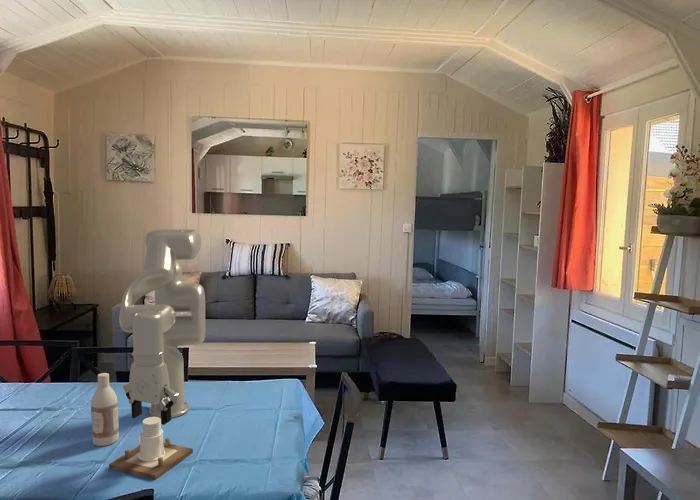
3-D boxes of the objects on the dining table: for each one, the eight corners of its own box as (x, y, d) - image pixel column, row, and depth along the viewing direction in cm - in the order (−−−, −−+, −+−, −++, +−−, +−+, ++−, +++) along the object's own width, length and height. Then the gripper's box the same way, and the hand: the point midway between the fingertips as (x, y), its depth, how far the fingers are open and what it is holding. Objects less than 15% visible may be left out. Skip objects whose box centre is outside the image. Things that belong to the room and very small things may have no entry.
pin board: (109, 468, 139) (108, 456, 139) (149, 443, 153) (148, 432, 153) (155, 479, 134) (155, 467, 133) (192, 452, 148) (192, 441, 147)
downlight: (130, 457, 142) (130, 422, 141) (149, 446, 148) (149, 412, 147) (153, 465, 139) (154, 429, 138) (172, 453, 145) (172, 418, 144)
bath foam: (87, 444, 152) (83, 377, 150) (105, 434, 158) (102, 369, 156) (106, 448, 150) (104, 379, 147) (124, 437, 156) (121, 371, 154)
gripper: (112, 358, 140) (115, 419, 142) (166, 367, 134) (168, 431, 136) (133, 349, 147) (135, 408, 149) (185, 358, 141) (187, 419, 143)
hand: (151, 419), depth 143 cm, fingers open, 9 cm apart
